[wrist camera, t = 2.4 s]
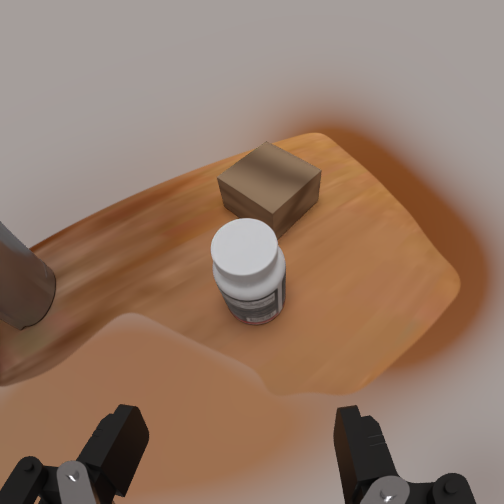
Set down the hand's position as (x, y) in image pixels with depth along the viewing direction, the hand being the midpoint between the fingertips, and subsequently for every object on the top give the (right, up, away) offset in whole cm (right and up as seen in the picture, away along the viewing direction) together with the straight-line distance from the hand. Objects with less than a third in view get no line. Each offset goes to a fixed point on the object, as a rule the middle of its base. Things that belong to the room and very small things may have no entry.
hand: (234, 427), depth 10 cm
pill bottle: (+1, +2, +19) cm, 19 cm away
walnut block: (+3, +13, +25) cm, 28 cm away
